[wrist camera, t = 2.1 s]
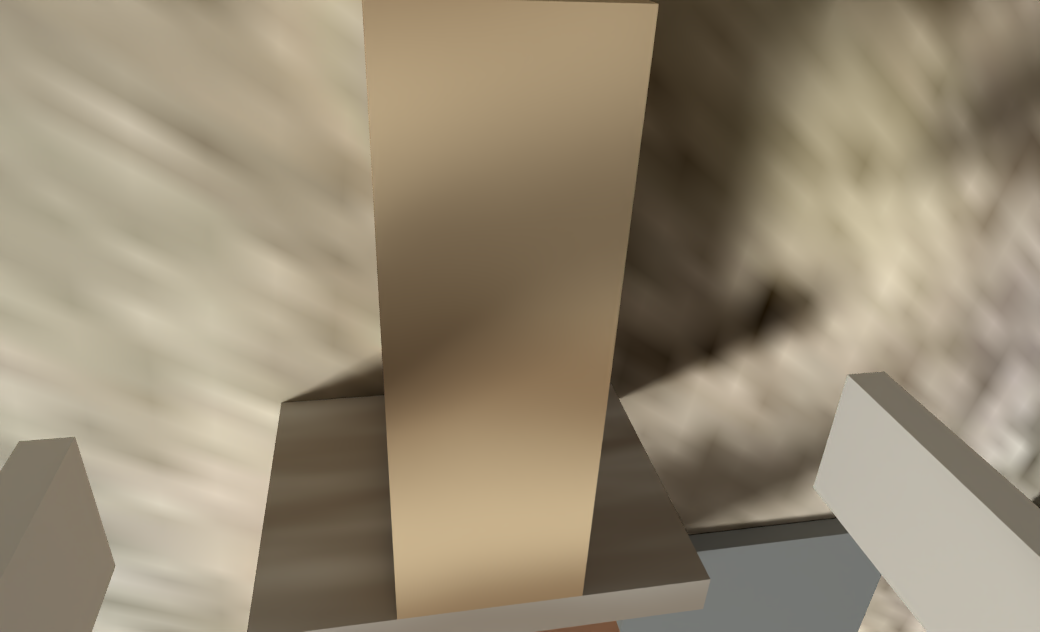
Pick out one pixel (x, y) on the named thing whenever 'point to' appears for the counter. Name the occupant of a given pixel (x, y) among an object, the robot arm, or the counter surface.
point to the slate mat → (776, 582)
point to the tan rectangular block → (486, 346)
